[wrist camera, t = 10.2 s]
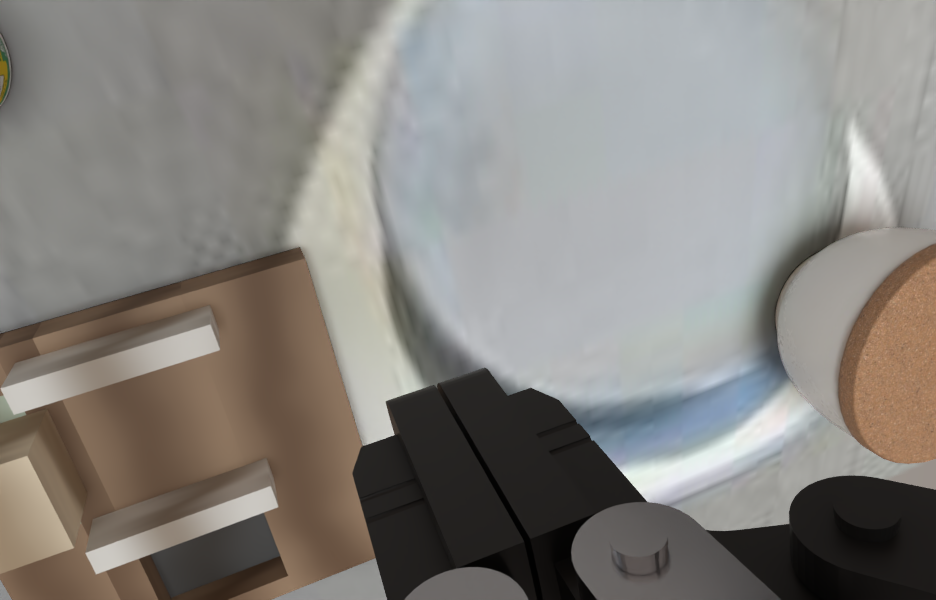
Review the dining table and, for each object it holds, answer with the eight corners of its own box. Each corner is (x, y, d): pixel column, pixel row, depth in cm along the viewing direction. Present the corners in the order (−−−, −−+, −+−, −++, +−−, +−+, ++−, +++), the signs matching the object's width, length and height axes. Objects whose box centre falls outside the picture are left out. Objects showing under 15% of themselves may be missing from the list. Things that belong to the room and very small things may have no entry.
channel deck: (299, 247, 35) (312, 274, 31) (385, 528, 41) (405, 580, 37) (-97, 362, 31) (-142, 410, 27) (67, 652, 38) (51, 725, 34)
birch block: (47, 408, 32) (27, 456, 28) (87, 493, 33) (74, 548, 30) (-69, 444, 30) (-105, 498, 27) (-21, 529, 32) (-48, 591, 29)
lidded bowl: (780, 430, 49) (925, 527, 39) (707, 292, 44) (855, 366, 34) (921, 312, 50) (1098, 380, 40) (867, 163, 44) (1057, 198, 35)
